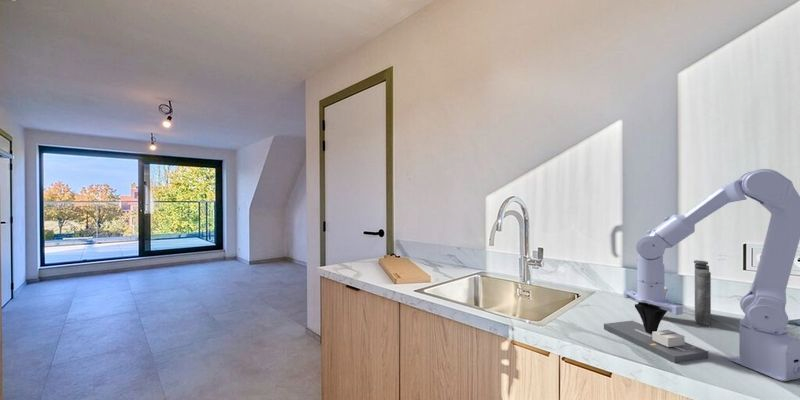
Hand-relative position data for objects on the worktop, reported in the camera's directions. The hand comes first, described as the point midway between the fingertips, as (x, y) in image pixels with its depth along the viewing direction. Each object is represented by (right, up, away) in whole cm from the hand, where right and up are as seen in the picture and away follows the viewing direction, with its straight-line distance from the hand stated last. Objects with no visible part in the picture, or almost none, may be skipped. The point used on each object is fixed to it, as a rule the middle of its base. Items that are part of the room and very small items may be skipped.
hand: (650, 332), depth 87 cm
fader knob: (+1, -1, -4) cm, 5 cm away
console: (0, -3, 0) cm, 2 cm away
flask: (+27, -2, +15) cm, 31 cm away
